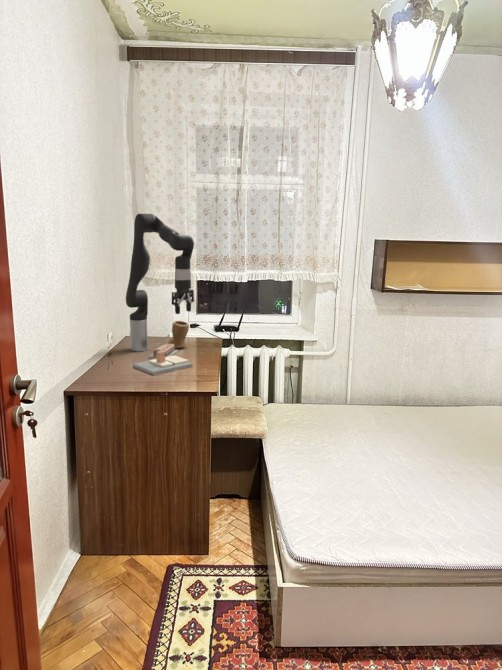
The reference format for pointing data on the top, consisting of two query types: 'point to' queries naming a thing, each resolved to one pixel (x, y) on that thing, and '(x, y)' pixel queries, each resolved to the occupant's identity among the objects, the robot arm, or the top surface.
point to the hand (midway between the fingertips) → (183, 312)
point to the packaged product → (165, 350)
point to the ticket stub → (160, 360)
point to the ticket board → (155, 369)
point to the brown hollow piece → (179, 334)
